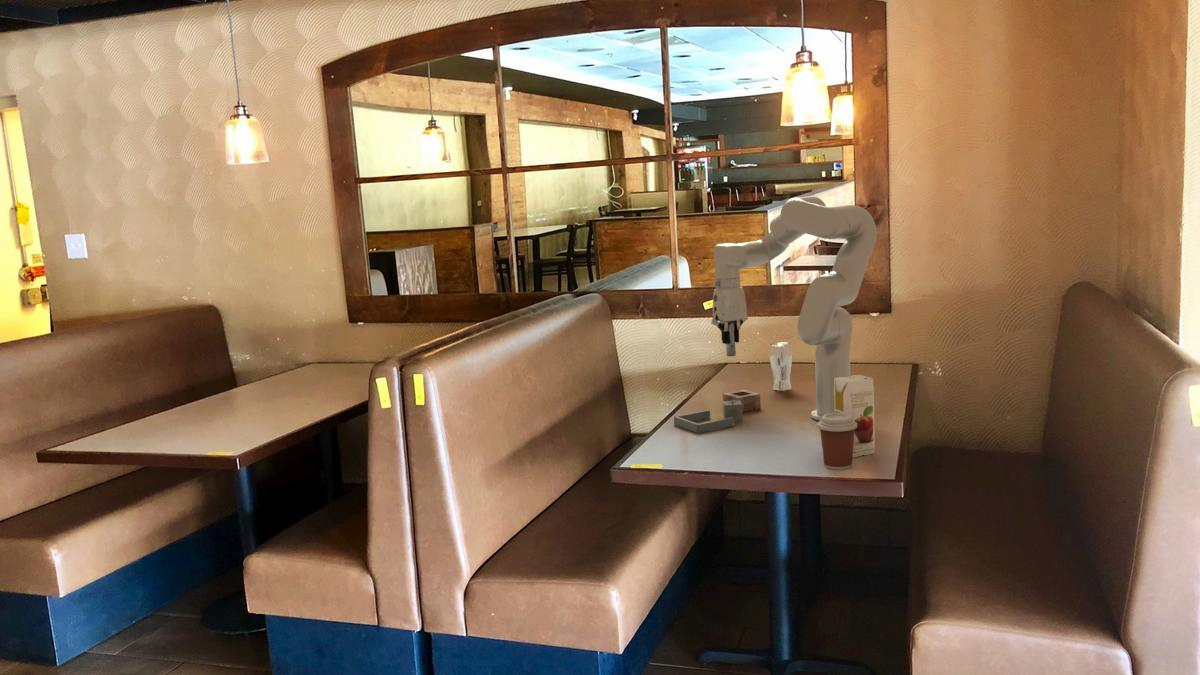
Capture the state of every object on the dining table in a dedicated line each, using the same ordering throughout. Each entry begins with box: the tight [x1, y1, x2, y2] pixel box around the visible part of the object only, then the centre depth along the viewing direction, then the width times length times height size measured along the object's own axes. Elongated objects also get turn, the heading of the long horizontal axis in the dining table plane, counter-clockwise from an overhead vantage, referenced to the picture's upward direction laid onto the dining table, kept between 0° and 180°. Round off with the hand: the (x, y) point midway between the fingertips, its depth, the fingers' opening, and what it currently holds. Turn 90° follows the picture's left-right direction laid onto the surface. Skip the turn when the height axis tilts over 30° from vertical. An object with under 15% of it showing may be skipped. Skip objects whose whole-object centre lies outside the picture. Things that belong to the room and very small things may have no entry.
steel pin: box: [725, 321, 737, 357], centre depth 283 cm, size 3×3×13 cm
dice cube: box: [722, 400, 744, 422], centre depth 265 cm, size 5×5×5 cm
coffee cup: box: [816, 413, 857, 471], centre depth 216 cm, size 9×9×12 cm
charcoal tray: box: [673, 409, 735, 434], centre depth 261 cm, size 12×12×2 cm
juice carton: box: [834, 374, 876, 459], centre depth 224 cm, size 8×9×19 cm
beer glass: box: [769, 342, 793, 392], centre depth 298 cm, size 7×7×15 cm
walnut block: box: [722, 389, 762, 413], centre depth 278 cm, size 8×8×4 cm
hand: (730, 342), depth 284 cm, fingers closed on steel pin, 2 cm apart
